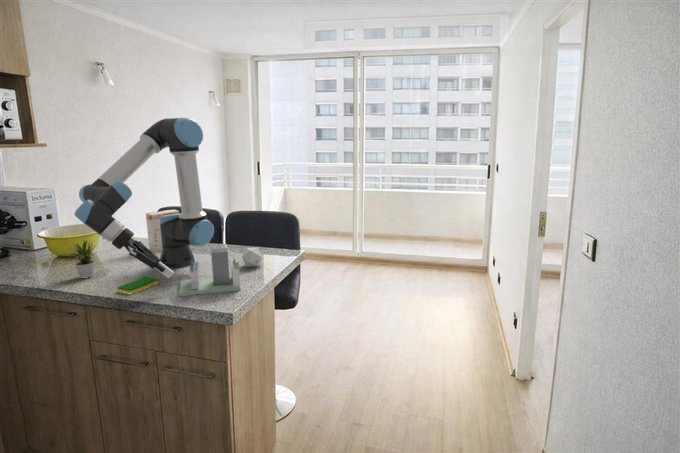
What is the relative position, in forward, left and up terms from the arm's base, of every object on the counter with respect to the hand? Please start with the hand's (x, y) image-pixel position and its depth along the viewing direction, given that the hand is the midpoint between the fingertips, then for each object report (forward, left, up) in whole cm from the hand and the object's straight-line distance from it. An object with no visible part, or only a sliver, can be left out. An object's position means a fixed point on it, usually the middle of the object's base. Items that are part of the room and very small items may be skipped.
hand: (171, 275), depth 166 cm
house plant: (-30, -37, -7) cm, 49 cm away
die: (-24, +32, -7) cm, 41 cm away
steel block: (0, +18, -5) cm, 19 cm away
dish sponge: (-8, -13, -7) cm, 17 cm away
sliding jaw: (0, +8, -5) cm, 10 cm away
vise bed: (0, +14, -6) cm, 15 cm away
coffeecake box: (-69, -9, -7) cm, 70 cm away
